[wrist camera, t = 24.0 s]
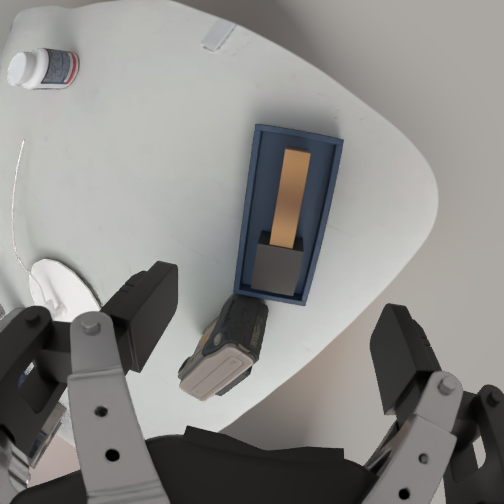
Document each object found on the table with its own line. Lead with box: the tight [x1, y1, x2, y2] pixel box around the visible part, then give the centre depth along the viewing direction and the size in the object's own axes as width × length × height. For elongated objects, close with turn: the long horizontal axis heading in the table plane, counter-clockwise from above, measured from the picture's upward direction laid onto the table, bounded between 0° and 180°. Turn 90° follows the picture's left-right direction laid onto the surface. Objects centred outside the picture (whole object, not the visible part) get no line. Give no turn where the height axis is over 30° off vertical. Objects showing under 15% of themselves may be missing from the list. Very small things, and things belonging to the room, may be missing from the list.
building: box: [18, 373, 67, 469], centre depth 54 cm, size 23×24×23 cm
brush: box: [251, 147, 311, 296], centre depth 28 cm, size 14×4×4 cm, turn 172°
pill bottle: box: [7, 48, 79, 90], centre depth 21 cm, size 5×5×9 cm
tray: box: [233, 124, 344, 306], centre depth 29 cm, size 18×8×2 cm, turn 172°
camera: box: [178, 293, 268, 402], centre depth 32 cm, size 11×6×10 cm, turn 142°
